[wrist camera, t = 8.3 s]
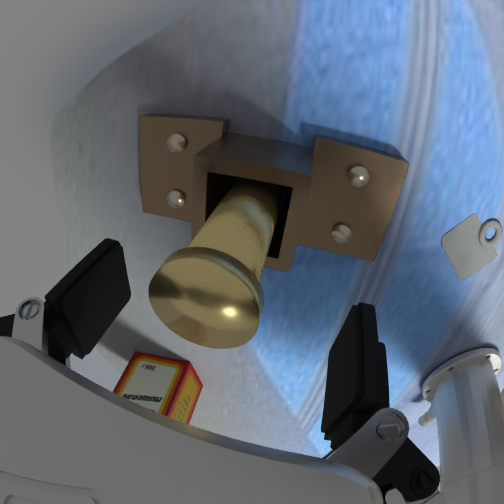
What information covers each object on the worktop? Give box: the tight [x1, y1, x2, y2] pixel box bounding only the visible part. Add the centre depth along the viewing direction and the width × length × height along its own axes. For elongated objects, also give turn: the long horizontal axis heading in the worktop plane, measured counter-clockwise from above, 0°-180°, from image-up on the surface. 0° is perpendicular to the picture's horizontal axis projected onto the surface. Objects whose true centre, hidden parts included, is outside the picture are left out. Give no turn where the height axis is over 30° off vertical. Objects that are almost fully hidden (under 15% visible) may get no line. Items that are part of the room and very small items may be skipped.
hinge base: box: [140, 114, 409, 273], centre depth 18 cm, size 8×19×6 cm, turn 83°
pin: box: [149, 177, 286, 349], centre depth 15 cm, size 4×4×13 cm
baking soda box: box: [113, 351, 203, 424], centre depth 33 cm, size 10×6×16 cm
